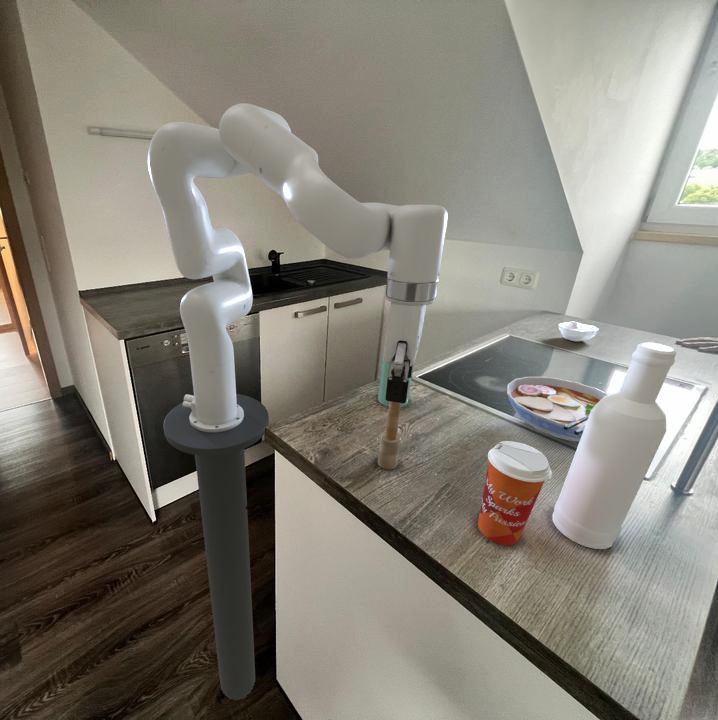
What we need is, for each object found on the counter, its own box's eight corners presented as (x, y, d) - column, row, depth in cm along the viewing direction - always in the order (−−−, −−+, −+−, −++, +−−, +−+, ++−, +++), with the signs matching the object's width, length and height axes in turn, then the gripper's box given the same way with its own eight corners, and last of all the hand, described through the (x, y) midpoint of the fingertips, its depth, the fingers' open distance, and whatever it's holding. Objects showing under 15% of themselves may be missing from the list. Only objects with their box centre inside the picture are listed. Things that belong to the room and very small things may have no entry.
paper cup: (462, 530, 59) (481, 455, 53) (481, 503, 64) (500, 432, 58) (518, 562, 54) (546, 483, 48) (534, 530, 59) (561, 455, 53)
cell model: (602, 345, 130) (609, 326, 128) (566, 344, 131) (572, 325, 128) (582, 335, 140) (588, 317, 137) (548, 334, 140) (553, 316, 137)
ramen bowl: (537, 394, 99) (546, 364, 95) (648, 440, 80) (663, 406, 77) (473, 419, 87) (481, 387, 84) (585, 480, 69) (600, 442, 66)
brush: (376, 466, 72) (385, 391, 66) (379, 455, 75) (388, 382, 69) (395, 471, 71) (407, 395, 65) (397, 459, 74) (408, 385, 68)
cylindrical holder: (375, 404, 93) (381, 351, 88) (380, 391, 100) (386, 340, 94) (406, 410, 91) (414, 355, 85) (409, 396, 97) (417, 344, 92)
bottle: (617, 560, 54) (712, 365, 42) (551, 535, 58) (621, 350, 46) (610, 522, 60) (691, 343, 48) (551, 502, 64) (612, 331, 52)
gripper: (393, 278, 69) (384, 365, 75) (377, 301, 54) (368, 408, 61) (437, 281, 66) (424, 371, 73) (434, 306, 51) (418, 417, 58)
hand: (398, 388), depth 67 cm, fingers open, 9 cm apart
